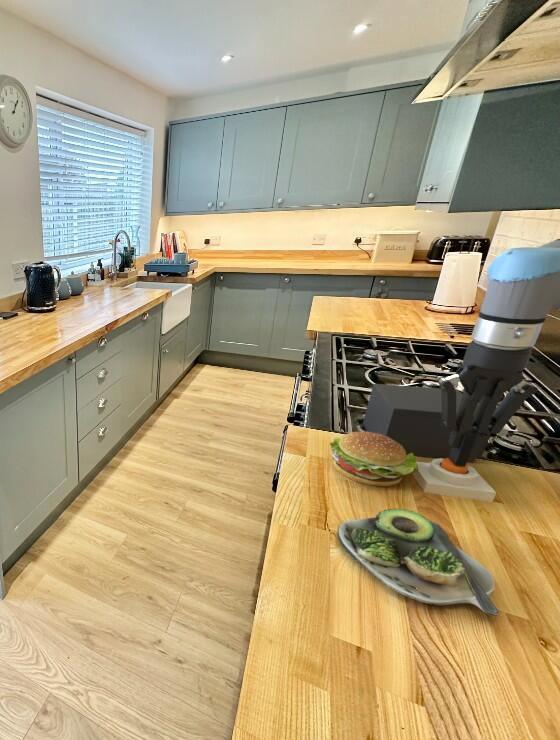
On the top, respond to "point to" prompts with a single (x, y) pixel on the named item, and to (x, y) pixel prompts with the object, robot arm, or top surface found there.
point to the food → (372, 458)
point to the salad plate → (417, 559)
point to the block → (452, 482)
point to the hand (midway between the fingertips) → (456, 461)
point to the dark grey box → (412, 419)
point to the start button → (453, 467)
